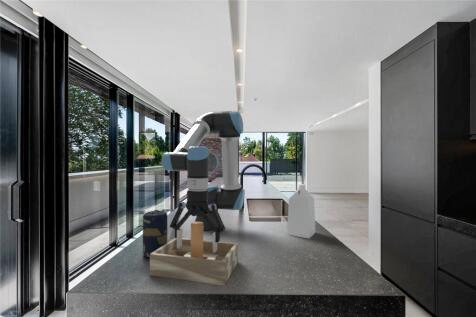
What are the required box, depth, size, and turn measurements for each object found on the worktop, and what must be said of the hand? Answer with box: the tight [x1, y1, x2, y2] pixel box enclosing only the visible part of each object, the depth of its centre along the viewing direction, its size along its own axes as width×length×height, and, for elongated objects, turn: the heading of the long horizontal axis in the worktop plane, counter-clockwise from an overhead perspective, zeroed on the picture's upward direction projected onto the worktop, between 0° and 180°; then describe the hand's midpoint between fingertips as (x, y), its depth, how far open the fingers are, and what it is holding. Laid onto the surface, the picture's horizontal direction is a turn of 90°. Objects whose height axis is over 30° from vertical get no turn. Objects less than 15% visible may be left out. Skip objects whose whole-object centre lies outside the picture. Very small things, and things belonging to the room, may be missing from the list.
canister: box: [142, 209, 168, 258], centre depth 101 cm, size 10×10×18 cm
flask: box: [167, 219, 184, 243], centre depth 117 cm, size 7×7×10 cm
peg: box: [190, 221, 204, 259], centre depth 89 cm, size 4×4×16 cm
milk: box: [286, 183, 316, 239], centre depth 132 cm, size 12×12×26 cm
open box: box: [149, 237, 239, 286], centre depth 89 cm, size 18×26×7 cm
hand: (196, 249), depth 89 cm, fingers open, 13 cm apart
